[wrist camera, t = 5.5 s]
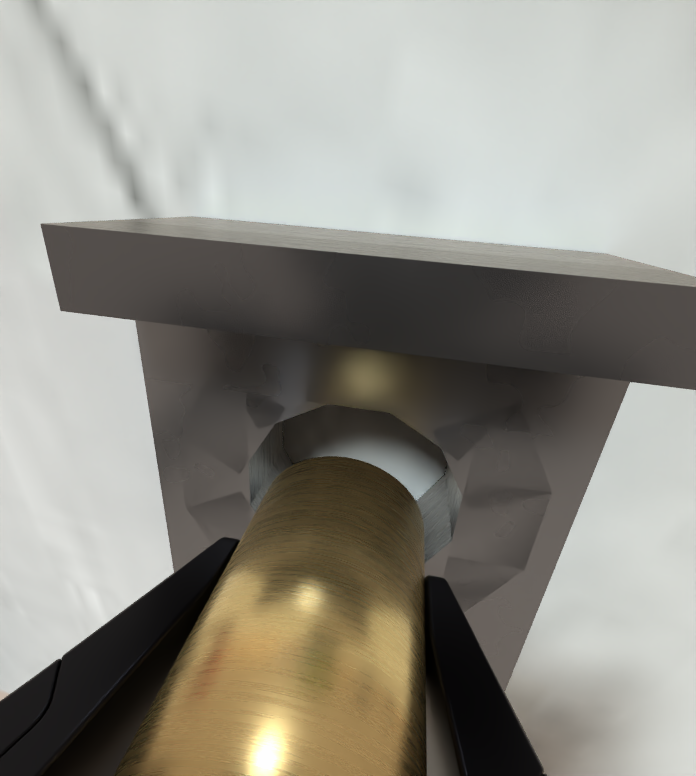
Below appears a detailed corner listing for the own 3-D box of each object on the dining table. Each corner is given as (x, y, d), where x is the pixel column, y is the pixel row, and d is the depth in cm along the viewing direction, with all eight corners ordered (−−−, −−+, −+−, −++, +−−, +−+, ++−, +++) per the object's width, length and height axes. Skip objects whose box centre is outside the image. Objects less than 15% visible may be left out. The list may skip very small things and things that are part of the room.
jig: (490, 606, 16) (518, 769, 11) (220, 554, 17) (146, 681, 12) (606, 253, 10) (757, 293, 6) (191, 216, 11) (40, 224, 7)
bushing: (411, 597, 10) (398, 1186, 4) (264, 568, 11) (52, 1056, 5) (436, 471, 9) (479, 1137, 3) (261, 444, 9) (-75, 947, 3)
